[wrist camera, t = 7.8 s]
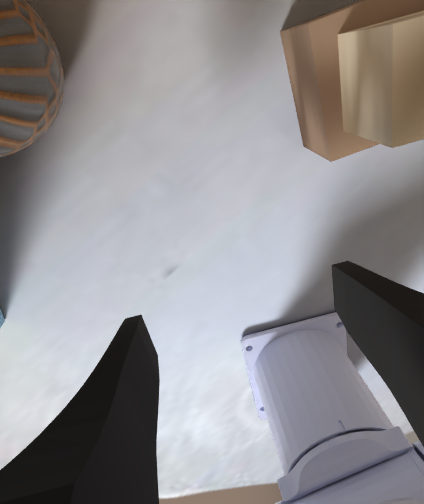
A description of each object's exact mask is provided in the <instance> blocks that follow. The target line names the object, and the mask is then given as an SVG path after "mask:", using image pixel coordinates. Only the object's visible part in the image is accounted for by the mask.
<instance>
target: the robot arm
mask: <svg viewBox="0 0 424 504" xmlns="http://www.w3.org/2000/svg"><path fill="white" fill-rule="evenodd" d="M332 277H333V292H334V306H335V310H336V312H334V313H330V314H326V315H323V316H319V317H315V318H311V319H307V320H304V321H300V322H296V323H292V324H288V325H284V326H281V327H277V328H273V329H269V330H265V331H261V332H258V333H254V334H250V335H246V336H244V337H243V338H242V339H241V346H242V350H243V354H244V358H245V362H246V366H247V370H248V374H249V378H250V382H251V387H252V391H253V395H254V399H255V403H256V407H257V411H258V415H259V418H260V419H261V420H268V423H269V426H270V429H271V433H272V436H273V439H274V443H275V446H276V449H277V453H278V456H279V459H280V463H281V466H282V469H283V472H284V476H283V477H281V478H279V479H278V480H277V481H278V484H279V488H280V491H281V495H282V499H283V500H282V501H279V502H277V503H275V504H424V293H421V292H418V291H416V290H413V289H410V288H408V287H405V286H403V285H401V284H398V283H396V282H394V281H391V280H389V279H387V278H385V277H382V276H380V275H378V274H376V273H374V272H372V271H369V270H367V269H365V268H363V267H361V266H359V265H356V264H354V263H352V262H349V261H345V262H341V263H338V264H334V265H332ZM339 322H340V323H339ZM337 323H339V324H337ZM346 330H347V332H348V333H349V335H350V336H351V337H352V339H353V340H354V341H355V343H356V344H357V345H358V347H359V348H360V350H361V351H362V352H363V354H364V355H365V356H366V358H367V359H368V360H369V362H370V363H371V364H372V366H373V367H374V368H375V370H376V371H377V372H378V374H379V375H380V376H381V378H382V379H383V380H384V382H385V383H386V385H387V386H388V388H389V389H390V391H391V392H392V394H393V396H394V397H395V399H396V401H397V402H398V404H399V406H400V407H401V409H402V411H403V412H404V414H405V416H406V417H407V419H408V421H409V423H410V424H411V426H412V428H413V430H414V431H415V433H416V435H417V436H418V438H419V441H417V442H415V443H413V447H412V445H411V444H410V443H409V441H408V439H407V438H406V436H405V435H404V433H403V432H402V430H401V429H400V427H398V426H396V427H394V426H393V425H392V423H391V422H390V420H389V419H388V417H387V416H386V414H385V413H384V411H383V409H382V408H381V406H380V405H379V403H378V402H377V400H376V399H375V397H374V396H373V394H372V392H371V391H370V389H369V388H368V386H367V385H366V383H365V382H364V380H363V379H362V377H361V376H360V374H359V372H358V371H357V369H356V368H355V366H354V365H353V363H352V362H351V360H350V359H349V357H348V356H347V338H346ZM248 346H251V347H249V348H247V347H248ZM158 402H159V366H158V355H157V352H156V350H155V347H154V345H153V343H152V340H151V338H150V335H149V333H148V330H147V328H146V325H145V323H144V320H143V318H142V315H138V316H134V317H130V318H126V319H125V320H124V321H123V323H122V325H121V326H120V328H119V330H118V331H117V333H116V335H115V337H114V338H113V340H112V342H111V343H110V345H109V347H108V348H107V350H106V352H105V353H104V355H103V356H102V358H101V360H100V361H99V363H98V364H97V366H96V367H95V369H94V370H93V372H92V373H91V375H90V376H89V377H88V379H87V380H86V382H85V383H84V385H83V386H82V387H81V388H80V390H79V391H78V392H77V394H76V395H75V396H74V397H73V398H72V400H71V401H70V402H69V403H68V404H67V406H66V407H65V408H64V409H63V410H62V411H61V412H60V414H59V415H58V416H57V417H56V418H55V419H54V420H53V421H52V422H51V423H50V424H49V425H48V426H47V427H46V428H45V429H44V431H43V432H42V433H41V434H40V435H39V436H38V437H37V438H36V439H34V440H33V441H32V442H31V443H30V444H29V445H28V446H27V447H26V448H25V449H24V450H23V451H22V452H21V453H19V454H18V455H17V456H16V457H15V458H14V459H13V460H12V461H11V462H9V463H8V464H7V465H6V466H5V467H4V468H2V469H1V470H0V504H159V495H158V479H157V457H156V438H157V420H158ZM413 448H414V449H413Z"/></svg>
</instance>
